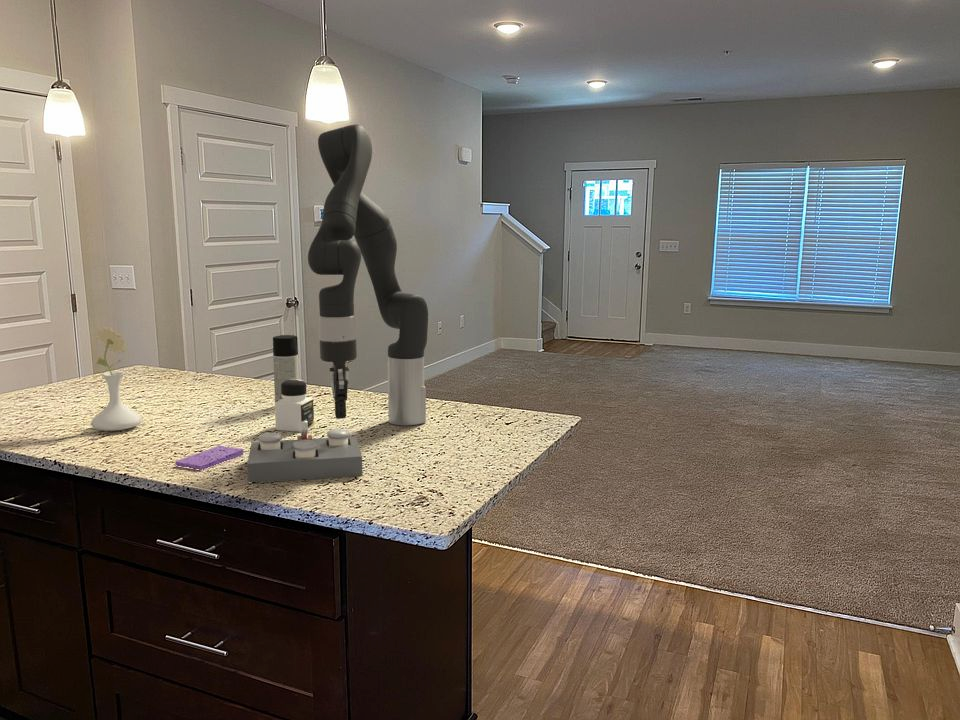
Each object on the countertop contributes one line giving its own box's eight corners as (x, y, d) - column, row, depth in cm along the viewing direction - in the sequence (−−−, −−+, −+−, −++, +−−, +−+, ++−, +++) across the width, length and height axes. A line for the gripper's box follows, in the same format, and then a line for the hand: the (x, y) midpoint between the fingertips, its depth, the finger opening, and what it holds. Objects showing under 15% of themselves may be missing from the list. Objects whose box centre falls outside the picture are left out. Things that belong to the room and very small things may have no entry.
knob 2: (348, 454, 158) (348, 428, 157) (350, 460, 154) (349, 434, 153) (327, 455, 157) (326, 429, 156) (328, 462, 153) (327, 435, 152)
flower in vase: (150, 428, 179) (143, 328, 175) (101, 437, 171) (93, 332, 166) (129, 418, 188) (121, 323, 183) (81, 427, 180) (72, 326, 175)
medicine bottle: (302, 432, 177) (300, 384, 175) (275, 430, 178) (273, 382, 176) (314, 424, 184) (313, 378, 182) (288, 423, 185) (286, 377, 183)
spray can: (304, 405, 204) (302, 335, 200) (290, 411, 198) (288, 338, 194) (284, 403, 206) (281, 334, 202) (270, 409, 200) (267, 337, 196)
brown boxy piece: (311, 441, 155) (311, 419, 154) (312, 445, 152) (311, 422, 151) (297, 442, 154) (296, 420, 154) (297, 446, 152) (296, 423, 151)
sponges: (244, 456, 159) (243, 448, 159) (200, 473, 148) (200, 465, 147) (219, 452, 162) (219, 444, 162) (175, 469, 151) (174, 460, 150)
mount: (356, 453, 161) (355, 436, 160) (362, 475, 146) (362, 456, 146) (252, 460, 155) (251, 442, 154) (248, 483, 141) (247, 463, 140)
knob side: (317, 466, 150) (316, 439, 149) (317, 473, 146) (317, 445, 145) (294, 467, 149) (293, 440, 148) (294, 475, 145) (293, 447, 144)
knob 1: (282, 458, 155) (281, 432, 154) (282, 465, 151) (281, 438, 150) (260, 459, 154) (259, 433, 153) (259, 466, 150) (258, 439, 149)
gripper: (359, 341, 146) (361, 424, 149) (353, 332, 158) (355, 409, 161) (321, 342, 144) (324, 427, 147) (317, 333, 156) (321, 411, 159)
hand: (340, 417), depth 154 cm, fingers closed
